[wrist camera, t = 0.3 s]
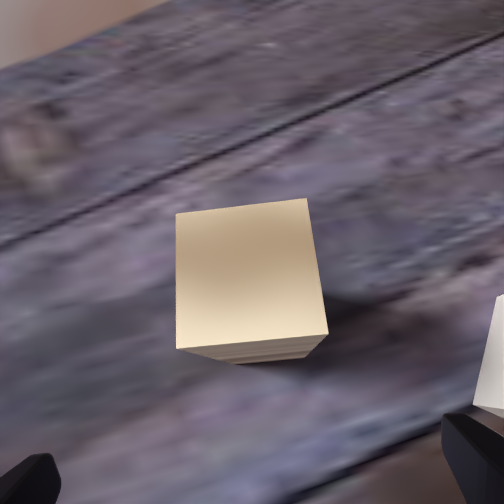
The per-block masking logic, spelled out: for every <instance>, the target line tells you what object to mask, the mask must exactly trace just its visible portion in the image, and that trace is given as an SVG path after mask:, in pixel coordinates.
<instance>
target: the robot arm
mask: <svg viewBox="0 0 504 504" xmlns="http://www.w3.org/2000/svg"><path fill="white" fill-rule="evenodd" d="M441 445H442V449H443V453H444V455H445V458H446V460H447V462H448V464H449V466H450V468H451V470H452V472H453V475H454V477H455V479H456V481H457V483H458V485H459V487H460V489H461V492H462V494H463V496H464V498H465V500H466V502H467V504H504V436H502V435H500V434H499V433H497V432H495V431H494V430H492V429H490V428H489V427H487V426H486V425H484V424H482V423H481V422H479V421H477V420H476V419H474V418H472V417H471V416H469V415H467V414H465V413H463V412H454V413H446V414H444V415H443V416H442V433H441ZM60 489H61V477H60V474H59V472H58V469H57V466H56V464H55V461H54V458H53V456H52V455H51V454H50V453H41V454H34V455H31V456H29V457H27V458H26V459H25V460H23V461H22V462H21V463H19V464H18V465H17V466H15V467H14V468H13V469H11V470H10V471H8V472H7V473H6V474H4V475H3V476H2V477H0V504H56V501H57V498H58V496H59V493H60Z"/></svg>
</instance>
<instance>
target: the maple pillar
mask: <svg viewBox="0 0 504 504" xmlns="http://www.w3.org/2000/svg"><path fill="white" fill-rule="evenodd" d="M328 334H329V333H328V327H327V321H326V315H325V309H324V303H323V297H322V290H321V284H320V278H319V272H318V266H317V260H316V254H315V248H314V242H313V236H312V229H311V223H310V217H309V211H308V205H307V199H306V198H304V199H296V200H287V201H279V202H271V203H262V204H254V205H246V206H237V207H229V208H221V209H212V210H204V211H195V212H187V213H179V214H176V349H179V350H183V351H187V352H191V353H194V354H198V355H202V356H205V357H209V358H213V359H217V360H220V361H224V362H228V363H232V364H244V363H254V362H265V361H276V360H287V359H297V358H305V357H306V356H307V355H308V354H309V353H310V352H311V351H312V350H313V349H314V348H315V347H316V346H317V345H318V344H319V343H320V342H321V341H322V340H323V339H324V338H325V337H326V336H327V335H328Z"/></svg>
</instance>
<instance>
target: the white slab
mask: <svg viewBox="0 0 504 504" xmlns="http://www.w3.org/2000/svg"><path fill="white" fill-rule="evenodd" d="M473 405H475V406H477V407H479V408H482V409H484V410H486V411H489V412H491V413H493V414H495V415H498V416H500V417H502V418H504V294H503V295H501V296H498V297H497V299H496V303H495V308H494V312H493V317H492V321H491V326H490V330H489V334H488V339H487V343H486V348H485V352H484V356H483V361H482V365H481V370H480V374H479V379H478V383H477V387H476V392H475V396H474V401H473Z"/></svg>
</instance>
